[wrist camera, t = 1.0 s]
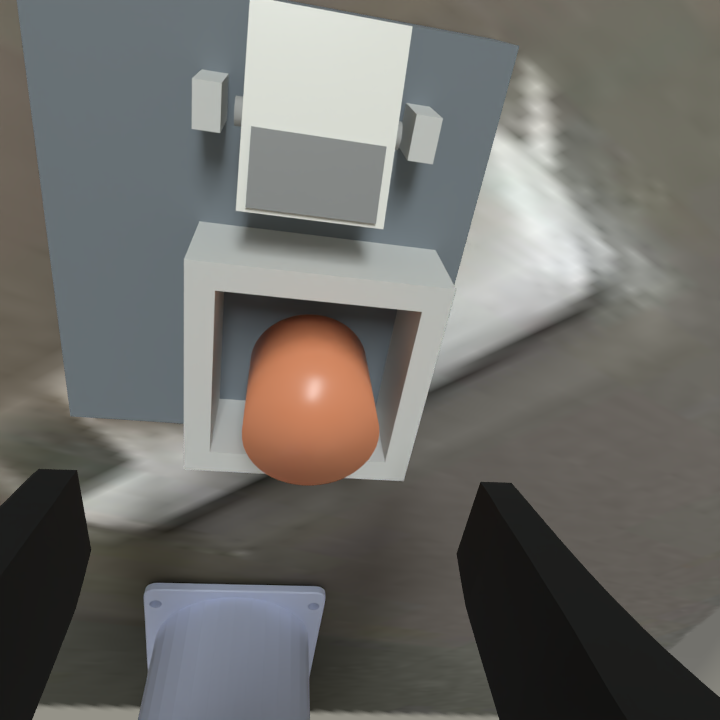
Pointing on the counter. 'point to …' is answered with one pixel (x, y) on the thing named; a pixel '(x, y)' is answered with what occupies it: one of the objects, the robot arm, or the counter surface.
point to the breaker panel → (236, 219)
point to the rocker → (319, 113)
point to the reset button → (309, 402)
